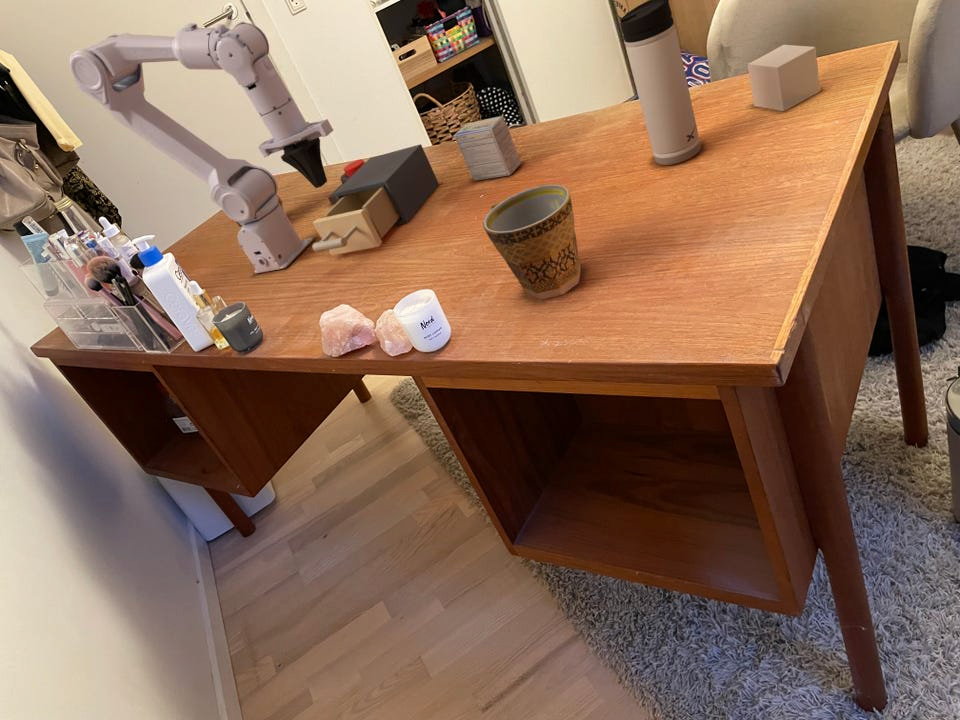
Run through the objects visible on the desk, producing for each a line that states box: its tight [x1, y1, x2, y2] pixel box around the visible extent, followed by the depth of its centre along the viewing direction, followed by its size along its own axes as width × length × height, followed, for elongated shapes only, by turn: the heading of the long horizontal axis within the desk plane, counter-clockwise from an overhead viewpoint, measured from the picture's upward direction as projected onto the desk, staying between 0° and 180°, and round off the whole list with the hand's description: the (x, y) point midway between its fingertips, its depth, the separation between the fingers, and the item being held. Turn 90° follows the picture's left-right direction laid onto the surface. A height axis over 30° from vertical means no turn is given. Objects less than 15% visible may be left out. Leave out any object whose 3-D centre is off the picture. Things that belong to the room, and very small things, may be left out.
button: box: [343, 159, 366, 177], centre depth 138 cm, size 4×4×2 cm
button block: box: [327, 161, 367, 206], centre depth 139 cm, size 12×10×4 cm
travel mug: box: [619, 0, 702, 166], centre depth 89 cm, size 6×7×20 cm
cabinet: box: [334, 143, 440, 227], centre depth 119 cm, size 13×11×8 cm
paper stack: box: [453, 115, 522, 182], centre depth 114 cm, size 8×4×9 cm, turn 58°
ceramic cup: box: [482, 184, 582, 300], centre depth 78 cm, size 13×10×10 cm
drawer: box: [312, 185, 400, 256], centre depth 112 cm, size 17×10×6 cm, turn 157°
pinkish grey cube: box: [747, 44, 821, 112], centre depth 93 cm, size 6×6×6 cm
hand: (321, 184), depth 113 cm, fingers closed
